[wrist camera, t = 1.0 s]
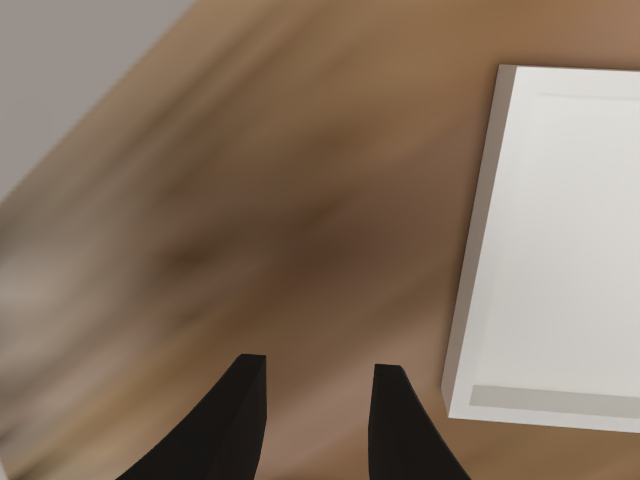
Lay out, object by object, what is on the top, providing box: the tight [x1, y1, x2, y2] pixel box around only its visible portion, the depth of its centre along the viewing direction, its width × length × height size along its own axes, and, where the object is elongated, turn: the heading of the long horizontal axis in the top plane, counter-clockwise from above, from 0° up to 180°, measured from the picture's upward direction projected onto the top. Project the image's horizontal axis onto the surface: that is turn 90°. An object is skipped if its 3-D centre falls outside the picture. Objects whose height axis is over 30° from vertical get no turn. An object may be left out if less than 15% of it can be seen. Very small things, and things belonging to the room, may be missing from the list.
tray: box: [440, 64, 640, 433], centre depth 18 cm, size 12×15×2 cm
